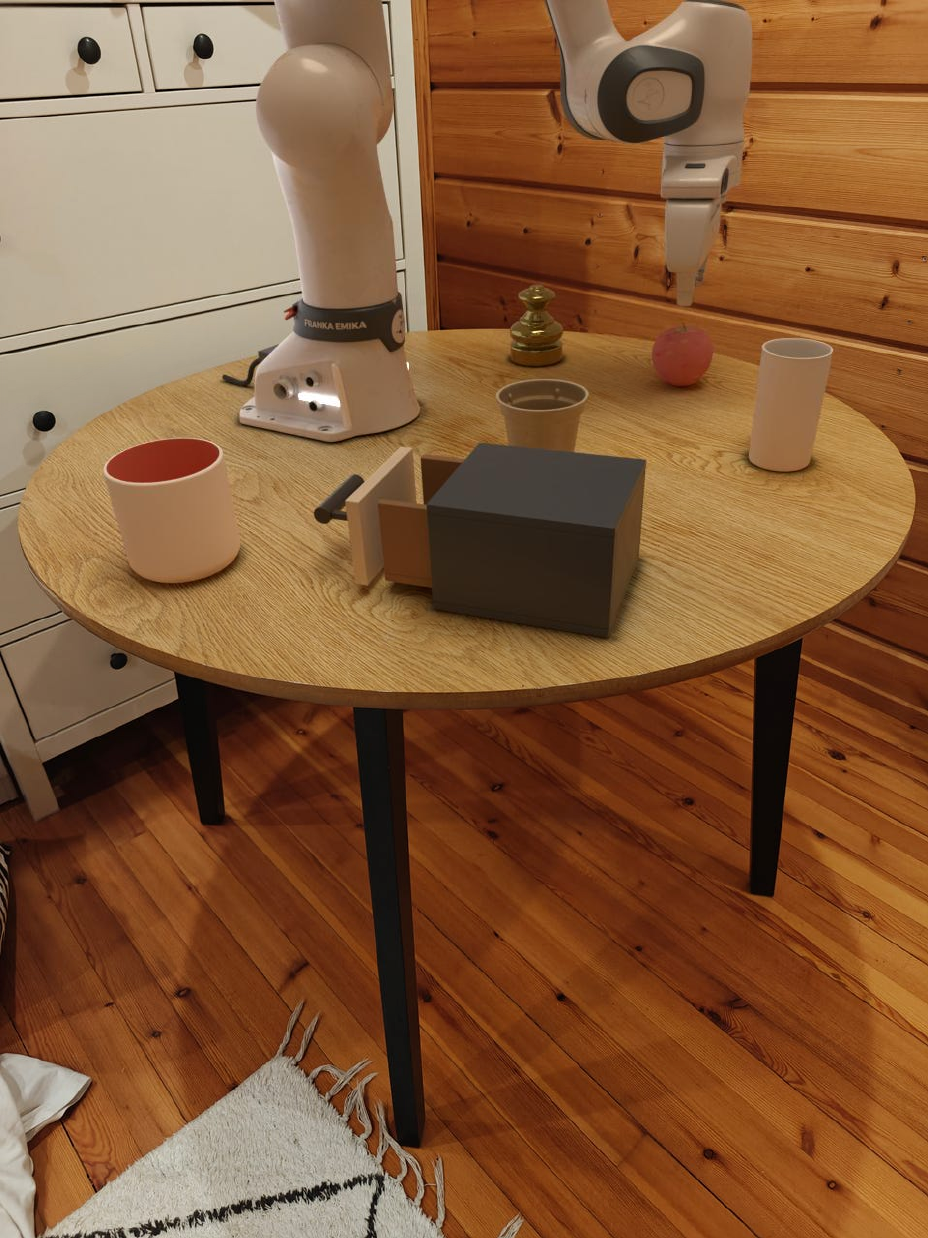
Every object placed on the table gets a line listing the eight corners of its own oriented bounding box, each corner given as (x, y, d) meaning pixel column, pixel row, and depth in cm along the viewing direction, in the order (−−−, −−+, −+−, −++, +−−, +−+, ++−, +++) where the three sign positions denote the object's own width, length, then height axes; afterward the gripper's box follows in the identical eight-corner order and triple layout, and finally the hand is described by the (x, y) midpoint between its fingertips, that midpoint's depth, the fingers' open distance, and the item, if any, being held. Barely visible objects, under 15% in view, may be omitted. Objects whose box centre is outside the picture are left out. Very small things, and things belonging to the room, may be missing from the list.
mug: (821, 471, 93) (844, 356, 87) (757, 475, 93) (775, 360, 87) (788, 434, 102) (806, 327, 95) (729, 437, 102) (743, 330, 95)
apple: (676, 398, 113) (683, 333, 108) (639, 382, 118) (643, 320, 114) (721, 386, 116) (729, 323, 111) (682, 371, 121) (688, 310, 117)
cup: (144, 539, 87) (118, 441, 81) (248, 531, 87) (230, 433, 82) (119, 593, 78) (89, 488, 73) (235, 585, 79) (214, 479, 73)
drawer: (308, 576, 78) (296, 494, 73) (364, 517, 87) (356, 441, 82) (507, 608, 72) (505, 521, 68) (544, 542, 81) (545, 461, 77)
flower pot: (484, 485, 94) (482, 405, 89) (512, 450, 101) (511, 375, 96) (573, 496, 91) (575, 414, 86) (594, 459, 98) (598, 382, 93)
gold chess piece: (511, 351, 131) (511, 279, 126) (562, 350, 131) (564, 278, 125) (508, 367, 125) (507, 293, 120) (562, 367, 124) (564, 292, 119)
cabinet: (433, 609, 74) (426, 504, 69) (482, 539, 84) (479, 442, 79) (608, 638, 70) (615, 528, 65) (638, 560, 80) (646, 459, 74)
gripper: (686, 157, 112) (677, 273, 120) (658, 183, 96) (650, 315, 104) (738, 157, 110) (726, 275, 118) (719, 183, 94) (706, 317, 102)
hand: (690, 294), depth 111 cm, fingers open, 8 cm apart
